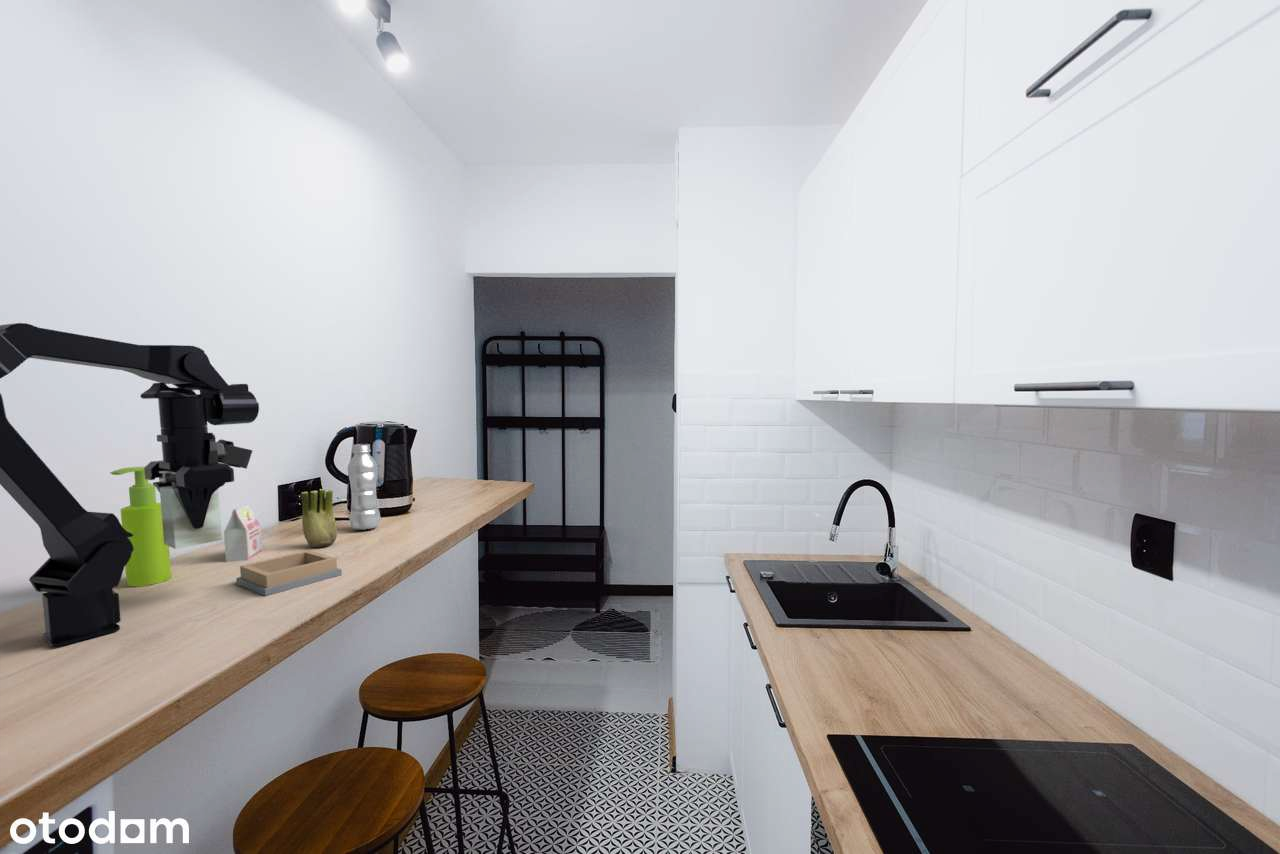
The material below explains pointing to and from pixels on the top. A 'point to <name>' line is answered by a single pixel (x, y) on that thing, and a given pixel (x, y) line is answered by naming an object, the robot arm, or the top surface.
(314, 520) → the fennel bulb
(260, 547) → the milk carton
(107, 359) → the robot arm
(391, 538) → the top surface
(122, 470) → the soap dispenser
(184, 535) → the cabinet block
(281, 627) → the top surface
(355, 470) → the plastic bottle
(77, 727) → the top surface
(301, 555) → the rectangular tray
